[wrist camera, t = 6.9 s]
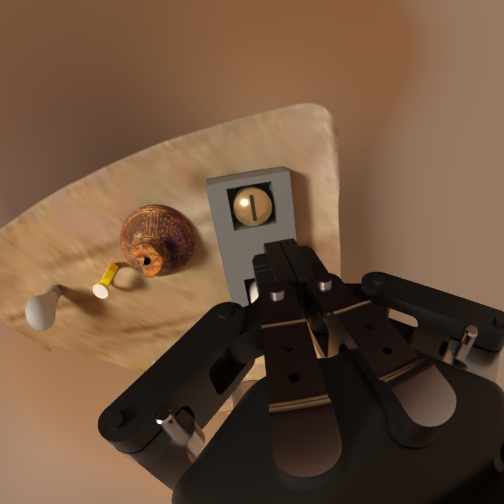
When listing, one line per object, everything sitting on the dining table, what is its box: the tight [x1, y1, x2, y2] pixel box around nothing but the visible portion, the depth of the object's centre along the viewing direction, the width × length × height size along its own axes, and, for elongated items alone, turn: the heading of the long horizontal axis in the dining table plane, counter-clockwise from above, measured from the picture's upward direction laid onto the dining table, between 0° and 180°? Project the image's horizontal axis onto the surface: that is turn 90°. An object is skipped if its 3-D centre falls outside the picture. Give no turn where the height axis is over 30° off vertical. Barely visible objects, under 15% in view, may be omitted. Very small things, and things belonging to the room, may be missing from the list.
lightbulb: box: [25, 285, 61, 331], centre depth 37 cm, size 6×6×11 cm
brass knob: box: [233, 184, 272, 226], centre depth 37 cm, size 5×5×4 cm
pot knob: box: [249, 281, 258, 303], centre depth 41 cm, size 5×5×4 cm
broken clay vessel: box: [120, 205, 194, 278], centre depth 38 cm, size 12×12×7 cm
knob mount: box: [206, 166, 297, 307], centre depth 41 cm, size 22×11×4 cm, turn 8°
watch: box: [93, 263, 118, 299], centre depth 40 cm, size 6×3×6 cm, turn 141°
